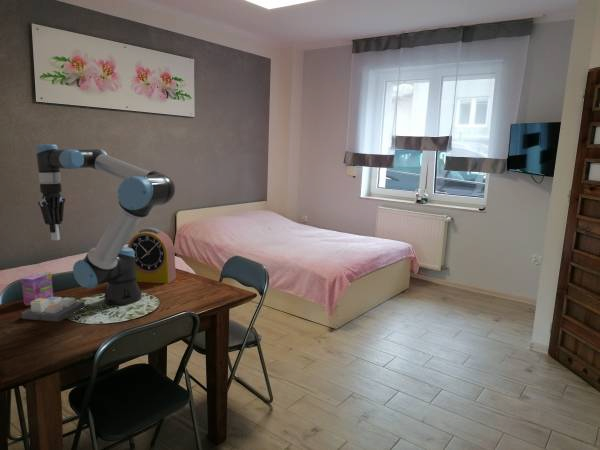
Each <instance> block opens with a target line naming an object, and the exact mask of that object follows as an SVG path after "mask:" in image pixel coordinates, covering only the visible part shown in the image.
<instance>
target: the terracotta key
mask: <svg viewBox="0 0 600 450" xmlns="http://www.w3.org/2000/svg"><path fill="white" fill-rule="evenodd" d="M44 308H45V313H57V312H59V311H61V310H63V304H54V303H53V304H51V305H49V306H47V307H44Z"/></svg>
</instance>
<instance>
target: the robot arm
mask: <svg viewBox="0 0 600 450" xmlns="http://www.w3.org/2000/svg"><path fill="white" fill-rule="evenodd" d="M58 147H59V146H58V145H57V144H52V143H51V144H48V143H47V144H45V143H44V144H43V143H42V144H37V145H36V150H35V151H36V154H35V156H36V161H37V169H38V170H37V171H38V179H39V180H38V181H39V183H40V184H39V189H40V193H41V194H42V197H41V201H37V204H38V206H39V207H40V210H41V214H42V218H43V220H44V223H45V225H49V232H50V236H51V241H59V240H61V236H60V231H61V230H60V225H61V224H62V223H63V221H64V220H63V219H64V209H65V202H66V198H65V197H64V198H63V197H62V196H61V193H62V189H63V188H62V183H61V181H62V180H61V179H62V177H61V170H60V169H63V170H66V169H67V170H77V169H94V170H96V171H99V172H102V173H103V174H106V175H108V176H111V177H113V178H115V179H117V180H120V181H121V183H120V184H119V186H118V189H117V194H118V195H117V199H118V205H119V207H118V209H117V211H116V212H115V214H114V215H113V218H112V220H111V221H110V222H109V224H108V226H107V228H106V230H105V231H104V233H103V234H102V236H101V238H100V239H99V241H98V243H97V244H96V246H95V247H93V248H91V249H90V250H88V252H87V254H86V255H85V256H84V257H83V259H78V260H77V261H76V262H74V264H73V267H72V274H73V276H74V279H75V281H76V282H77V284H78V285H80V286H81V287H82V288H85V289H92V288H95V287H98V286H102V285H103V284H107V286H106V289H105V293H104V296H103V297H104V300H103V301H104V303H105V304H107V305H111V306H120V305H121V306H122V305H129V304H132V303H135V302H139V301H140V300H141V299H142V298H143V297H142V296H143V294H142V290H141V288H140V286H139V283H138V282H137V280H136V264H135V254H134V250H133V249H132V248H128V246H127V247H125V245H126V243H127V242H128V241H129V239H130V237H131V235H132V234H133V232H134V231H135V229H136V227H137V226H138V224H139V223H140V221H141V219H143V218H144V219H145V218H146V217H148V216H149V215H150V213H151V211H152V209H153V208H154V207H157V206H162V205H165V204H167V203H169V202H170V201H171V200H172V199H173V197H174V196H175V193H176V186H175V183H174V181H173V180H172V178H171V177H170V176H168V175H166V174H164V173H161V172H159V171H157V170H151V171H150V170H147V169H144V168H141V167H139V166H136V165H134V164H131V163H128V162H126V161H123V160H122V159H118V158H116V157H114V156H111V155H108V153H107V152H106V151H105V150H104V149H97V148H92V149H90V148H89V149H73V148H72V149H69V148H68V149H59V148H58Z"/></svg>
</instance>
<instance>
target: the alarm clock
mask: <svg viewBox="0 0 600 450" xmlns="http://www.w3.org/2000/svg"><path fill="white" fill-rule="evenodd" d="M127 247H128V248H132V249H133V250H134V254H135V264H136V280H137V283H138V282H139V283H153V284H156V283H157V284H170V283H171V282H173V281H174V280H175V279H177V277H176V276H177V273H176V272H177V271H176V255H175V251H176V250H175V247H174V243H173V241H172V239H171V238H170V236H169V235H168V234H167V233H165V232H164V231H161V230H160V229H158V228H155V227H145V228H143V229H141V230H139V231H138V233H137V234H134V236H133V237H131V239H130V241H129V242H128V245H127Z"/></svg>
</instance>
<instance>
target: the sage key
mask: <svg viewBox="0 0 600 450" xmlns="http://www.w3.org/2000/svg"><path fill="white" fill-rule="evenodd" d="M75 301H76V298H75V297H62V299H61V300H59V301H58V304H63V307H69V306H71V305H73V304H75Z"/></svg>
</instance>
